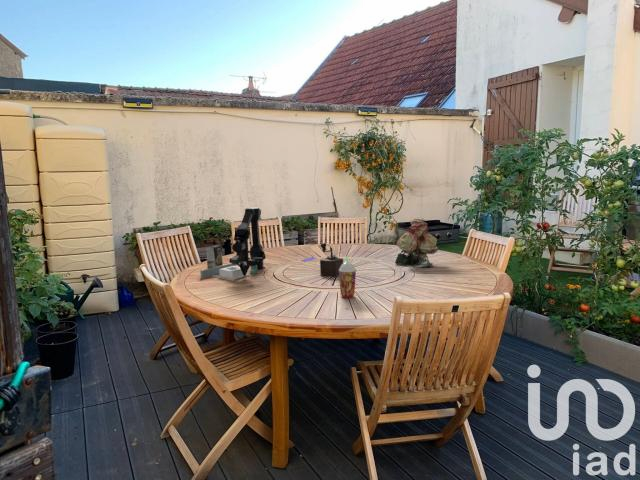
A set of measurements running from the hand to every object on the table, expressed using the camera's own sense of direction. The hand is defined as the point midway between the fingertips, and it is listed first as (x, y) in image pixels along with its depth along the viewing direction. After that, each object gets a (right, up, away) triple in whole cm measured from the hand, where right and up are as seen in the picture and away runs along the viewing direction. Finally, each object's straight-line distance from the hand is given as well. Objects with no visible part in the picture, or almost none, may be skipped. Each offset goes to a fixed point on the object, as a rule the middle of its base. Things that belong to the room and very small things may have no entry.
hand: (244, 275), depth 255 cm
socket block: (-8, -1, +6) cm, 10 cm away
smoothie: (+58, -7, -39) cm, 70 cm away
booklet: (+45, +6, +48) cm, 66 cm away
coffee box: (-22, +1, +22) cm, 31 cm away
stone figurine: (+108, +5, +32) cm, 113 cm away
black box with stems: (+49, 0, +10) cm, 50 cm away
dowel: (+4, 0, +12) cm, 13 cm away
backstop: (-10, -1, +8) cm, 13 cm away
